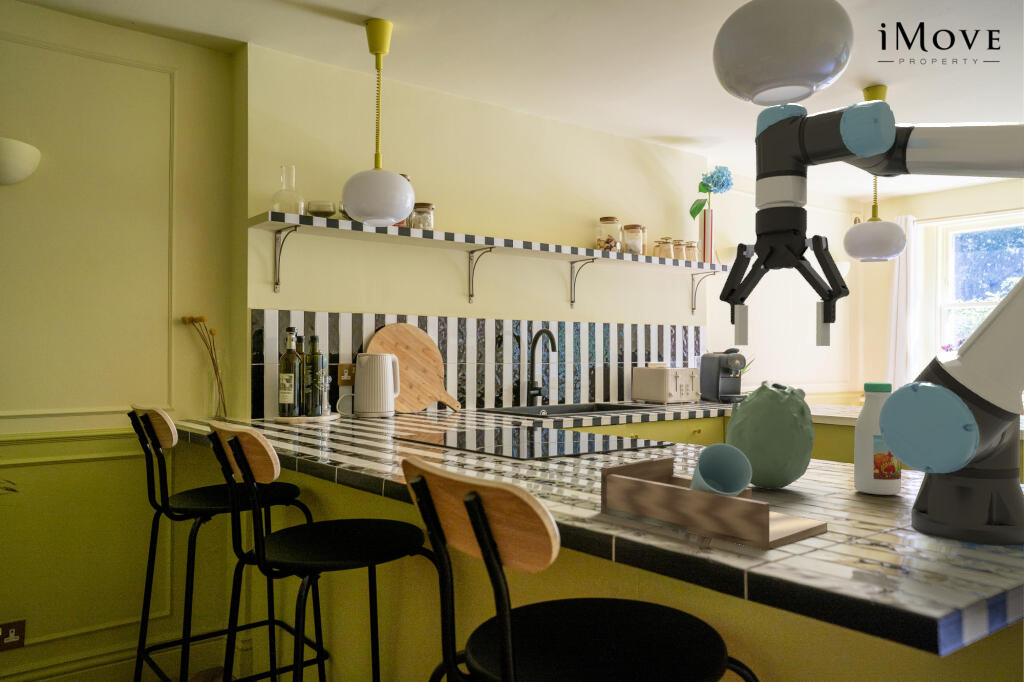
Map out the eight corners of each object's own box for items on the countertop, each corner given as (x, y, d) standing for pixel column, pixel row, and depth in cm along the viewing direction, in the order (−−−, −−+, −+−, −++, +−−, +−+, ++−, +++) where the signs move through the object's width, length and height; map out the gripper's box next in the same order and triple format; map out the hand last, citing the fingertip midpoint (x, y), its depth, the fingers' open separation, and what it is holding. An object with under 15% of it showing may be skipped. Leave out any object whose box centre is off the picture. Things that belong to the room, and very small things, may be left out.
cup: (740, 514, 109) (761, 487, 100) (692, 525, 108) (709, 499, 99) (721, 468, 113) (739, 438, 105) (674, 478, 112) (689, 449, 103)
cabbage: (709, 490, 135) (709, 381, 135) (746, 475, 149) (746, 378, 149) (796, 502, 125) (797, 385, 125) (827, 485, 140) (827, 380, 140)
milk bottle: (855, 493, 132) (855, 383, 132) (852, 486, 139) (853, 381, 139) (903, 497, 129) (904, 384, 129) (898, 489, 136) (899, 382, 136)
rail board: (827, 532, 105) (827, 478, 105) (764, 555, 93) (764, 494, 93) (667, 500, 126) (667, 454, 126) (600, 515, 115) (601, 465, 115)
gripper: (874, 200, 106) (873, 346, 106) (724, 221, 125) (723, 345, 125) (850, 193, 102) (850, 346, 102) (698, 216, 120) (697, 345, 120)
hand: (780, 345), depth 113 cm, fingers open, 13 cm apart
